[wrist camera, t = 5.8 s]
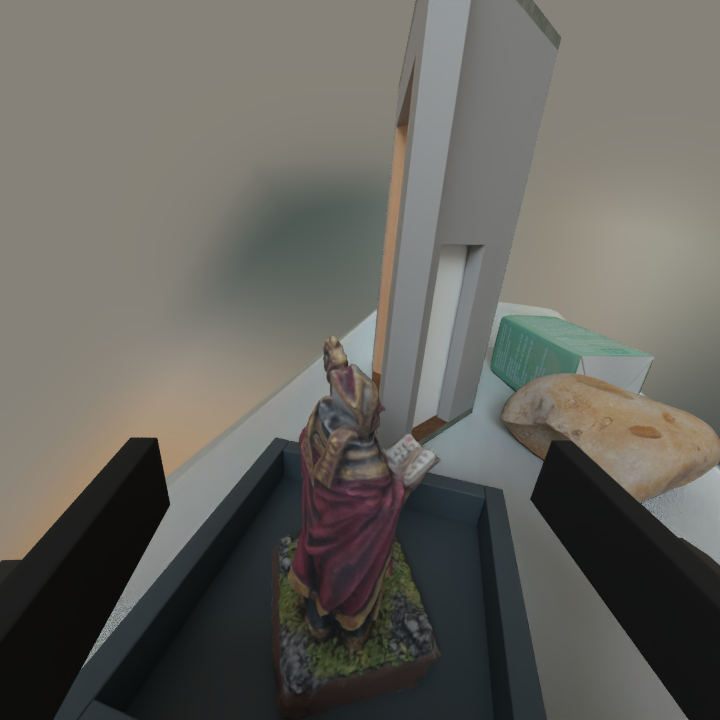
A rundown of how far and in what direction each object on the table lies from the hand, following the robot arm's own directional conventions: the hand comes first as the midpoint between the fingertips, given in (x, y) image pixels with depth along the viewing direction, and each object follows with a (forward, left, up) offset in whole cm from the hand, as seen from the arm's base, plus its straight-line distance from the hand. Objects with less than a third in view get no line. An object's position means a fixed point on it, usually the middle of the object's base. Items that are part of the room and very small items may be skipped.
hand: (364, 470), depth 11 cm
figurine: (0, 0, -8) cm, 8 cm away
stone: (+15, +15, -9) cm, 23 cm away
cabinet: (+2, +19, -9) cm, 21 cm away
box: (+15, +28, -9) cm, 33 cm away
